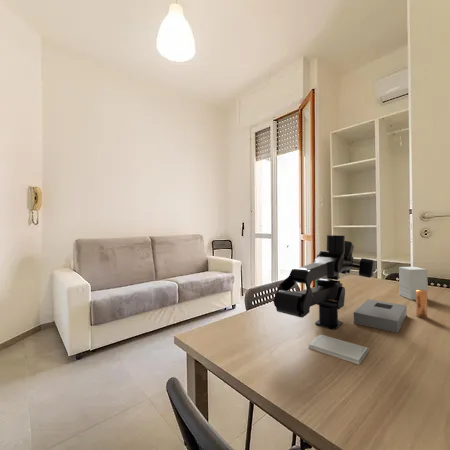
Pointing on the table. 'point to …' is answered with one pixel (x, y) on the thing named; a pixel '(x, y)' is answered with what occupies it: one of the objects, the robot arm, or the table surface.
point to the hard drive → (339, 348)
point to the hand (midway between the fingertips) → (352, 262)
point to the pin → (421, 303)
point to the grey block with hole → (381, 315)
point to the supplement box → (412, 281)
